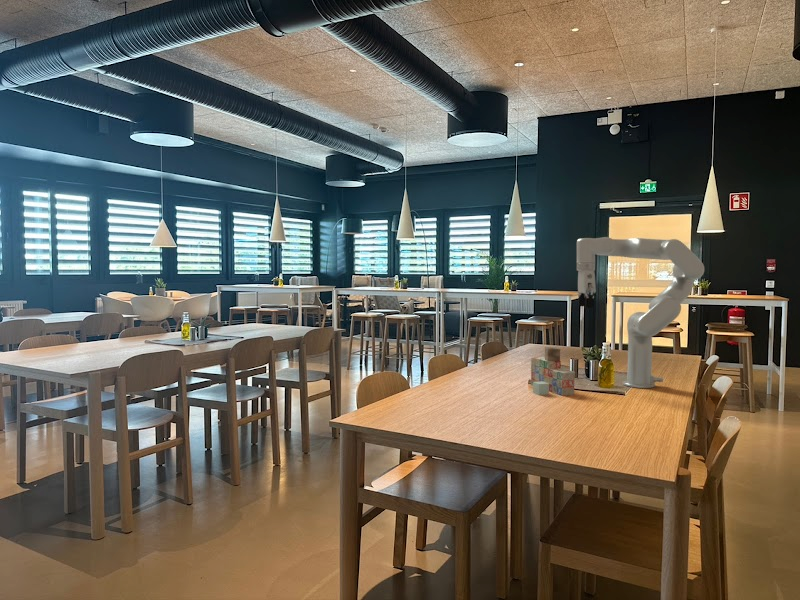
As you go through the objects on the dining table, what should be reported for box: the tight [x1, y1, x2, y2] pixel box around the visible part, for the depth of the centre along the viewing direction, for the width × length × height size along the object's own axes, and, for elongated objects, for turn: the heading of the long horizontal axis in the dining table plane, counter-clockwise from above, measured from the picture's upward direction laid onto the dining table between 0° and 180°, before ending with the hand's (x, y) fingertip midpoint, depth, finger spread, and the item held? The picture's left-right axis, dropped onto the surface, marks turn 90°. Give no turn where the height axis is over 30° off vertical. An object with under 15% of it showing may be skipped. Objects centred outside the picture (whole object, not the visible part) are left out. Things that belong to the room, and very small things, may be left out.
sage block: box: [532, 381, 550, 396], centre depth 225 cm, size 4×4×4 cm
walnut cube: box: [544, 346, 561, 361], centre depth 233 cm, size 5×5×5 cm
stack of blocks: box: [530, 356, 576, 396], centre depth 233 cm, size 21×6×12 cm, turn 21°
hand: (585, 306), depth 243 cm, fingers open, 9 cm apart
